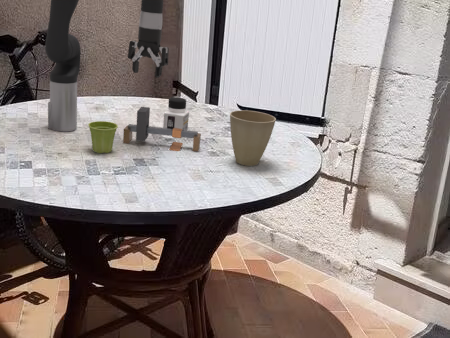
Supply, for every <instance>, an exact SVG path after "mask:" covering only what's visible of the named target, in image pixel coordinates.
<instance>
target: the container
mask: <svg viewBox="0 0 450 338" xmlns="http://www.w3.org/2000/svg"><path fill="white" fill-rule="evenodd" d="M167 108H168V109H167V110H166V111H165V112H163V122H162V123H163V124H162V128H169V129H173V128H179V129H182V130H188V129H189V117H190V111H189V110H187V99H186V98H184V97H181V96H172V97H169V98H168V105H167ZM188 131H189V130H188Z"/></svg>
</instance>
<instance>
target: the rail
mask: <svg viewBox="0 0 450 338" xmlns="http://www.w3.org/2000/svg"><path fill="white" fill-rule="evenodd" d="M136 126H137V124H131V123H129V124H128V125H127V124H126V126H125V127H124V128H123V140H122V141H123V143H122V144H128V145H129V144H130V143H132V141H133V133H136ZM146 133H149V134H148V135H150V134H151V135H159V136H169V137H171V138H176V139H182V138H186V139H188V138H189V139H192V140H193V143H192V151H193V152H199V151H200V147H201V136H202V133H199V131H195V130H182V129H179V128H173V129H169V128H163V127H158V126H152V125H151V126H150V125H149V126H146ZM183 144H184V143H183V142H178V141H172V143H171V146H170V147H169V151H176V152H180V151H181V148H183Z"/></svg>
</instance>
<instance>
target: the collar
mask: <svg viewBox="0 0 450 338" xmlns="http://www.w3.org/2000/svg"><path fill="white" fill-rule="evenodd" d="M150 111H151V107H147V106H140V107H139V109H138V110H136V125H137V126H136V132H135V141H137V142H143V143H144V142H146V140H147V139H148V137H149V135H150V134H149V133H146V126H150V113H151V112H150Z"/></svg>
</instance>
